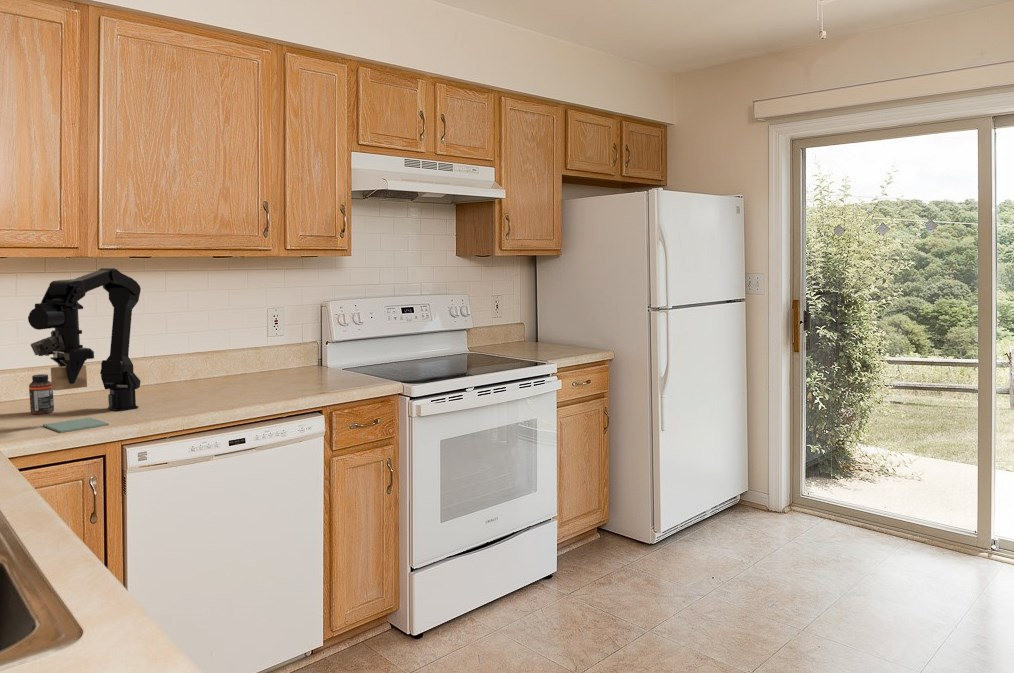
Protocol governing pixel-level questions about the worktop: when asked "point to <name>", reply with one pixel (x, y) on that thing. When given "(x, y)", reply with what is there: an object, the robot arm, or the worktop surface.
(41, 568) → the worktop surface
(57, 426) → the mat
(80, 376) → the slab
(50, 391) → the supplement bottle
